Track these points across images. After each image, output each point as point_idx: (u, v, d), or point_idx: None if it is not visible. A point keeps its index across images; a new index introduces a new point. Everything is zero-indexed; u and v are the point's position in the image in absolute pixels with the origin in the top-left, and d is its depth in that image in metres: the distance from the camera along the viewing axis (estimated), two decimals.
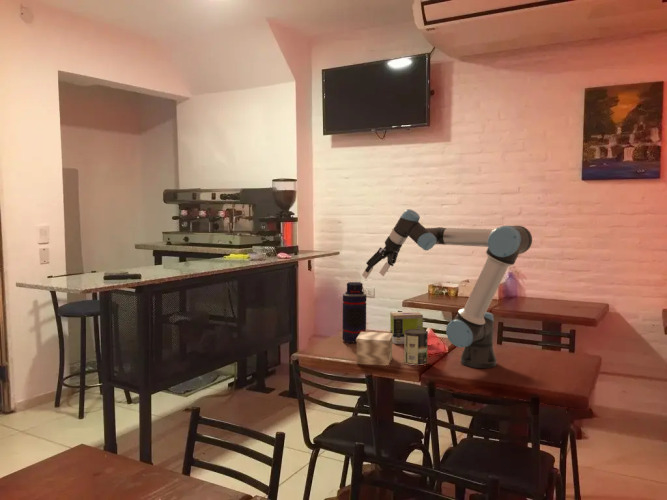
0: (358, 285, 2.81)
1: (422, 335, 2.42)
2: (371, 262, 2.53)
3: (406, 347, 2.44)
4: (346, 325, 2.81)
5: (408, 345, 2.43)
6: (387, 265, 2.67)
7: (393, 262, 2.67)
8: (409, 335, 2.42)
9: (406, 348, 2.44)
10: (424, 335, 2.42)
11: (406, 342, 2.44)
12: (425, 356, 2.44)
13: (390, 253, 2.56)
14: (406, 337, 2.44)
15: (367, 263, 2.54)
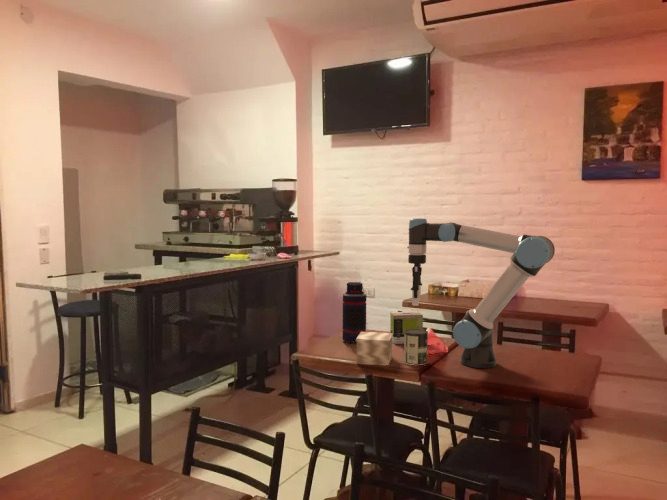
0: (358, 285, 2.81)
1: (422, 335, 2.42)
2: (416, 284, 2.35)
3: (406, 347, 2.44)
4: (346, 325, 2.81)
5: (408, 345, 2.43)
6: None
7: (420, 282, 2.53)
8: (409, 335, 2.42)
9: (406, 348, 2.44)
10: (424, 335, 2.42)
11: (406, 342, 2.44)
12: (425, 356, 2.44)
13: (421, 268, 2.43)
14: (406, 337, 2.44)
15: (414, 288, 2.35)
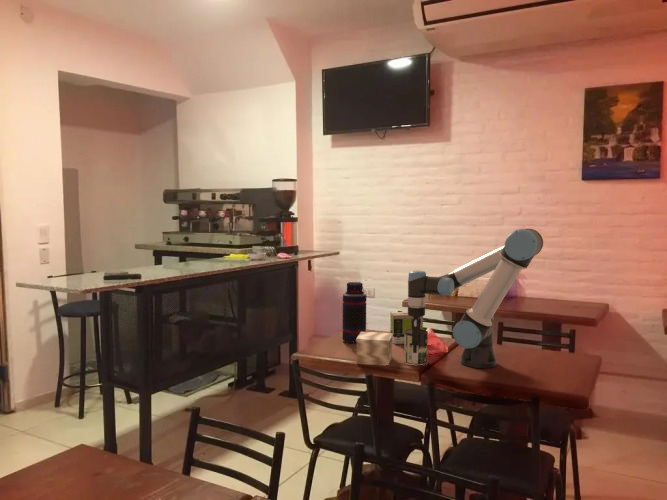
0: (358, 285, 2.81)
1: (422, 335, 2.42)
2: (416, 340, 2.38)
3: (406, 347, 2.44)
4: (346, 325, 2.81)
5: (408, 345, 2.43)
6: None
7: None
8: (409, 335, 2.42)
9: (406, 348, 2.44)
10: (424, 335, 2.42)
11: (406, 342, 2.44)
12: (425, 356, 2.44)
13: (420, 321, 2.44)
14: (406, 337, 2.44)
15: (413, 343, 2.38)
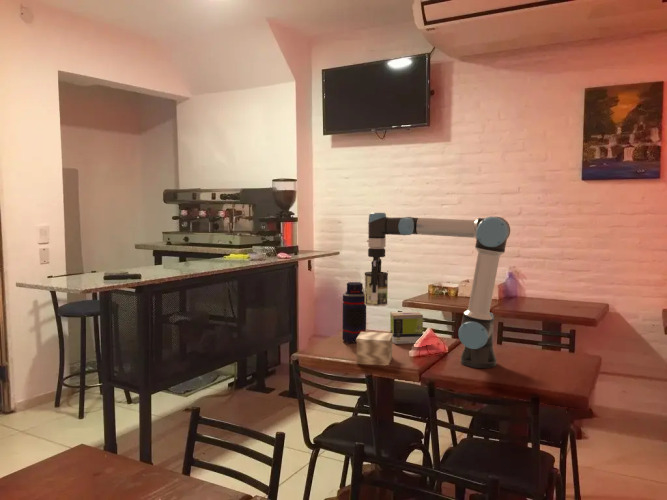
0: (358, 285, 2.81)
1: (381, 276, 2.43)
2: (375, 279, 2.40)
3: (366, 288, 2.46)
4: (346, 325, 2.81)
5: (368, 286, 2.45)
6: None
7: None
8: (369, 275, 2.44)
9: (366, 289, 2.46)
10: (383, 275, 2.44)
11: (366, 283, 2.46)
12: (385, 297, 2.45)
13: (380, 262, 2.46)
14: (366, 278, 2.46)
15: (372, 282, 2.40)
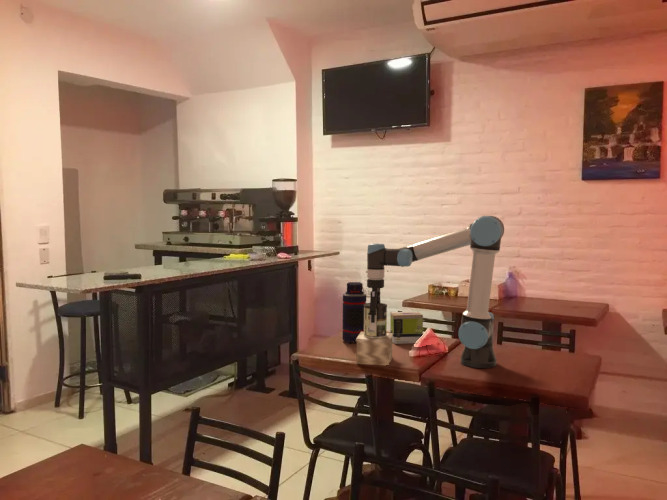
0: (358, 285, 2.81)
1: (380, 308, 2.44)
2: (373, 309, 2.40)
3: (365, 320, 2.47)
4: (346, 325, 2.81)
5: (367, 318, 2.46)
6: None
7: None
8: (368, 308, 2.45)
9: (365, 321, 2.47)
10: (383, 308, 2.45)
11: (365, 315, 2.47)
12: (384, 329, 2.46)
13: (379, 293, 2.47)
14: (365, 310, 2.47)
15: (371, 313, 2.39)
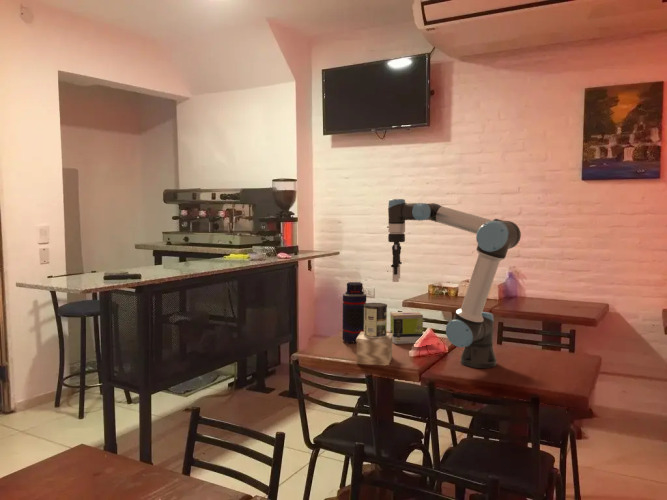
0: (358, 285, 2.81)
1: (380, 308, 2.44)
2: (396, 261, 2.46)
3: (365, 320, 2.47)
4: (346, 325, 2.81)
5: (367, 318, 2.46)
6: None
7: None
8: (368, 308, 2.45)
9: (365, 321, 2.47)
10: (383, 308, 2.45)
11: (365, 315, 2.47)
12: (384, 329, 2.46)
13: (400, 247, 2.54)
14: (365, 310, 2.47)
15: (394, 264, 2.46)
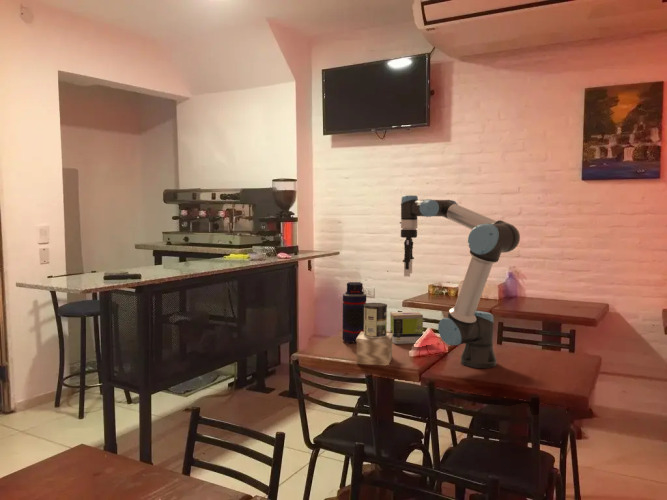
0: (358, 285, 2.81)
1: (380, 308, 2.44)
2: (408, 256, 2.52)
3: (365, 320, 2.47)
4: (346, 325, 2.81)
5: (367, 318, 2.46)
6: (410, 261, 2.68)
7: (411, 256, 2.70)
8: (368, 308, 2.45)
9: (365, 321, 2.47)
10: (383, 308, 2.45)
11: (365, 315, 2.47)
12: (384, 329, 2.46)
13: (412, 242, 2.59)
14: (365, 310, 2.47)
15: (405, 259, 2.52)
